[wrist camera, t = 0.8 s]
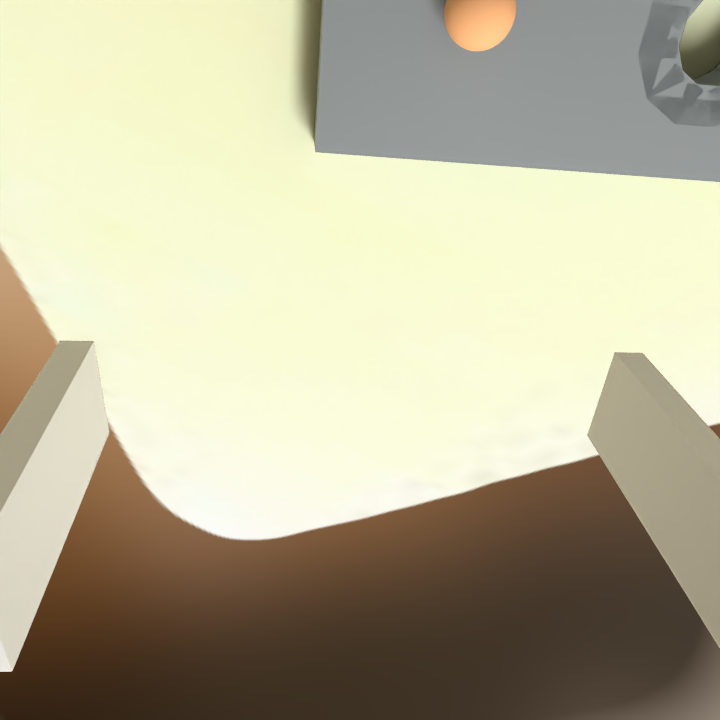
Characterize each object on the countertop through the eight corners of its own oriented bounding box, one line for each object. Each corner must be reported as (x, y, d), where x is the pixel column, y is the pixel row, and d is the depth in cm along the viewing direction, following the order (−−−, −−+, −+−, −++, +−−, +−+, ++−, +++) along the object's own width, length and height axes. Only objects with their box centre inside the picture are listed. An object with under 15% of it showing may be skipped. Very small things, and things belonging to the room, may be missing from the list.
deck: (314, 142, 35) (315, 152, 33) (331, -187, 28) (334, -202, 26) (778, 177, 38) (807, 188, 36) (895, -108, 31) (939, -116, 29)
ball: (443, -32, 29) (459, -35, 26) (510, -25, 29) (533, -27, 27) (433, 45, 31) (447, 50, 28) (497, 51, 31) (516, 57, 28)
